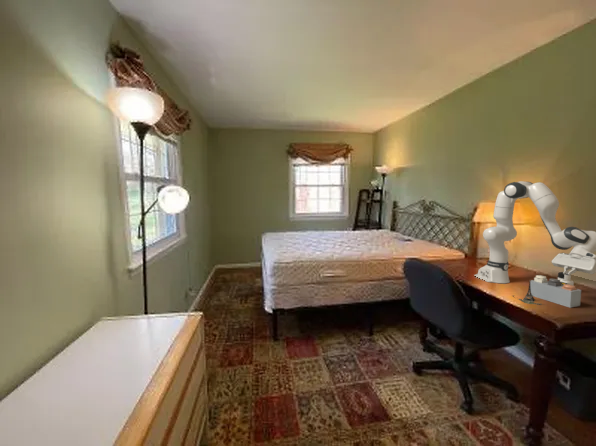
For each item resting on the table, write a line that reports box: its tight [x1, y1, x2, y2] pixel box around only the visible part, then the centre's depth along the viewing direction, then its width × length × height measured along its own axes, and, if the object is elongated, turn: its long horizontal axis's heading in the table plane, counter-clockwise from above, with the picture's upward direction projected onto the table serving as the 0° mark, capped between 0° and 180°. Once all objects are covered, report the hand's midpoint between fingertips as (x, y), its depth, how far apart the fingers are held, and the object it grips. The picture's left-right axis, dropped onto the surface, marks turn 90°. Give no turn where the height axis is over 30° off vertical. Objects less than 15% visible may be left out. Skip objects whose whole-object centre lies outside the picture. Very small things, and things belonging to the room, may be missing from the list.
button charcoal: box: [547, 278, 561, 287], centre depth 177 cm, size 5×5×8 cm
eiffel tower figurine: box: [512, 280, 541, 306], centre depth 178 cm, size 15×10×13 cm
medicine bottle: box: [557, 271, 575, 286], centre depth 192 cm, size 7×7×12 cm
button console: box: [529, 279, 582, 309], centre depth 178 cm, size 22×8×9 cm, turn 17°
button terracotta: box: [562, 284, 577, 291], centre depth 170 cm, size 5×5×8 cm
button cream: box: [533, 274, 548, 283], centre depth 184 cm, size 5×5×8 cm
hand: (566, 274), depth 170 cm, fingers closed
